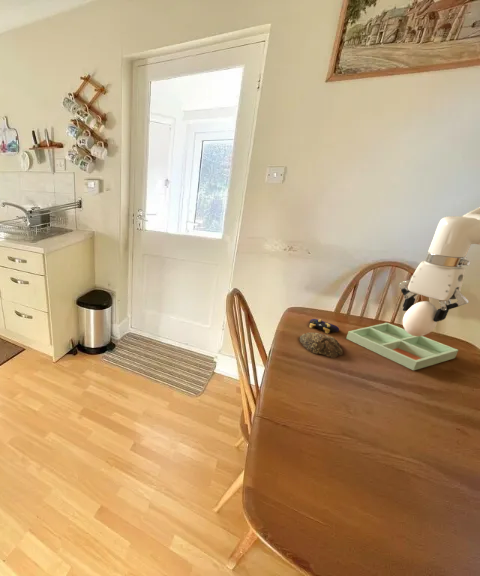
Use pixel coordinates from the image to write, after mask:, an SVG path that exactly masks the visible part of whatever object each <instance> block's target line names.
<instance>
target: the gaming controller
mask: <svg viewBox="0 0 480 576" xmlns="http://www.w3.org/2000/svg"><path fill="white" fill-rule="evenodd" d="M308 325H309V328H311V329H314V328H315V329H317V330H319V331H323V332H324V334H331V333H338V332H340V331H339V330H340V327H339V326H337V325H334V324H332V323H330V322H327V321H324V320H322V318H321V319H320V318H319V319H318V318H311V319H310V320H309V324H308Z"/></svg>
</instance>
